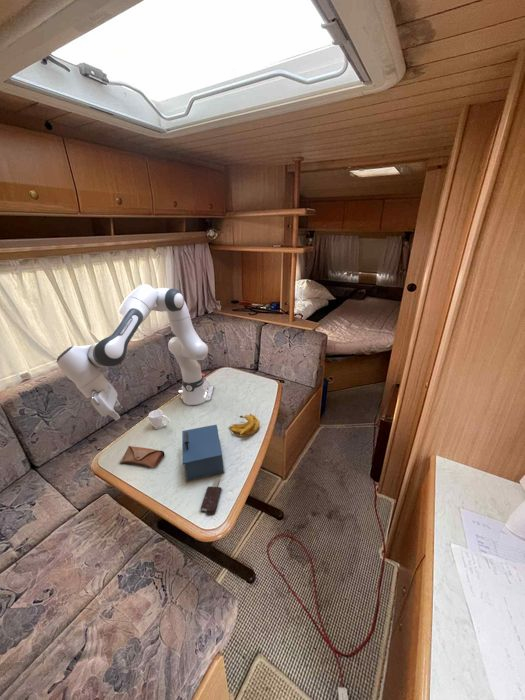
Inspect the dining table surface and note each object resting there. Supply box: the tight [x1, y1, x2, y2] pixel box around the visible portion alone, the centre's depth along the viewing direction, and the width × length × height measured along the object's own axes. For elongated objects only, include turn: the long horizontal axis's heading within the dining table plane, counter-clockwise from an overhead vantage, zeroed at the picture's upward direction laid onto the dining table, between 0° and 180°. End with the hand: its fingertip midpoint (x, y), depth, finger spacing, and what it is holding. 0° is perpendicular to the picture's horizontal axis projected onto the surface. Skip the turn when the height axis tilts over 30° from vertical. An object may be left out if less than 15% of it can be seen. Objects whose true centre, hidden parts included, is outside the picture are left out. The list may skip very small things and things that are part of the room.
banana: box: [229, 413, 261, 437], centre depth 139 cm, size 15×19×6 cm
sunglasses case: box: [119, 445, 165, 469], centre depth 122 cm, size 18×7×7 cm, turn 79°
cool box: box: [184, 455, 225, 482], centre depth 120 cm, size 15×20×9 cm
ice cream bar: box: [200, 476, 222, 515], centre depth 104 cm, size 5×2×15 cm
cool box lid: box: [181, 424, 223, 466], centre depth 117 cm, size 16×20×5 cm
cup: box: [147, 409, 170, 430], centre depth 141 cm, size 7×10×8 cm
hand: (119, 414), depth 105 cm, fingers open, 8 cm apart
